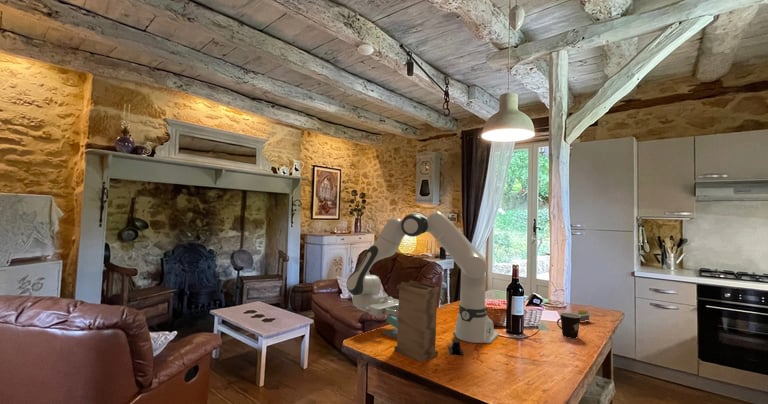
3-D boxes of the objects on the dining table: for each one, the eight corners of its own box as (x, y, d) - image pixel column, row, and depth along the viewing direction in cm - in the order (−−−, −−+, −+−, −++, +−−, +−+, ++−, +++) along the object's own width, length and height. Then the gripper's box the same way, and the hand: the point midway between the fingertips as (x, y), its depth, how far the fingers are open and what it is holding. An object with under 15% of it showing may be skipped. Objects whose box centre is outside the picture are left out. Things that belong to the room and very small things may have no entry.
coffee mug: (575, 333, 171) (575, 313, 171) (583, 339, 162) (583, 318, 162) (550, 332, 172) (551, 311, 172) (557, 338, 163) (558, 316, 164)
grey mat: (395, 329, 167) (395, 327, 167) (432, 342, 151) (432, 340, 152) (382, 333, 160) (382, 331, 160) (419, 347, 145) (419, 345, 145)
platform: (562, 321, 193) (562, 309, 194) (583, 318, 201) (583, 306, 201) (582, 327, 183) (583, 315, 183) (603, 324, 190) (604, 312, 191)
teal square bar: (391, 320, 165) (392, 313, 165) (427, 341, 150) (429, 334, 150) (386, 322, 162) (387, 314, 162) (422, 343, 147) (424, 335, 147)
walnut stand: (410, 345, 147) (412, 279, 148) (437, 355, 137) (439, 285, 138) (394, 351, 139) (396, 282, 141) (422, 362, 130) (424, 288, 131)
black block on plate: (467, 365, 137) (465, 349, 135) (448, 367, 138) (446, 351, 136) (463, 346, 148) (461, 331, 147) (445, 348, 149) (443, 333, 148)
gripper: (362, 302, 162) (384, 308, 152) (392, 295, 176) (413, 301, 167) (362, 315, 161) (383, 322, 152) (392, 308, 176) (413, 314, 167)
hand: (399, 311), depth 159 cm, fingers open, 5 cm apart
